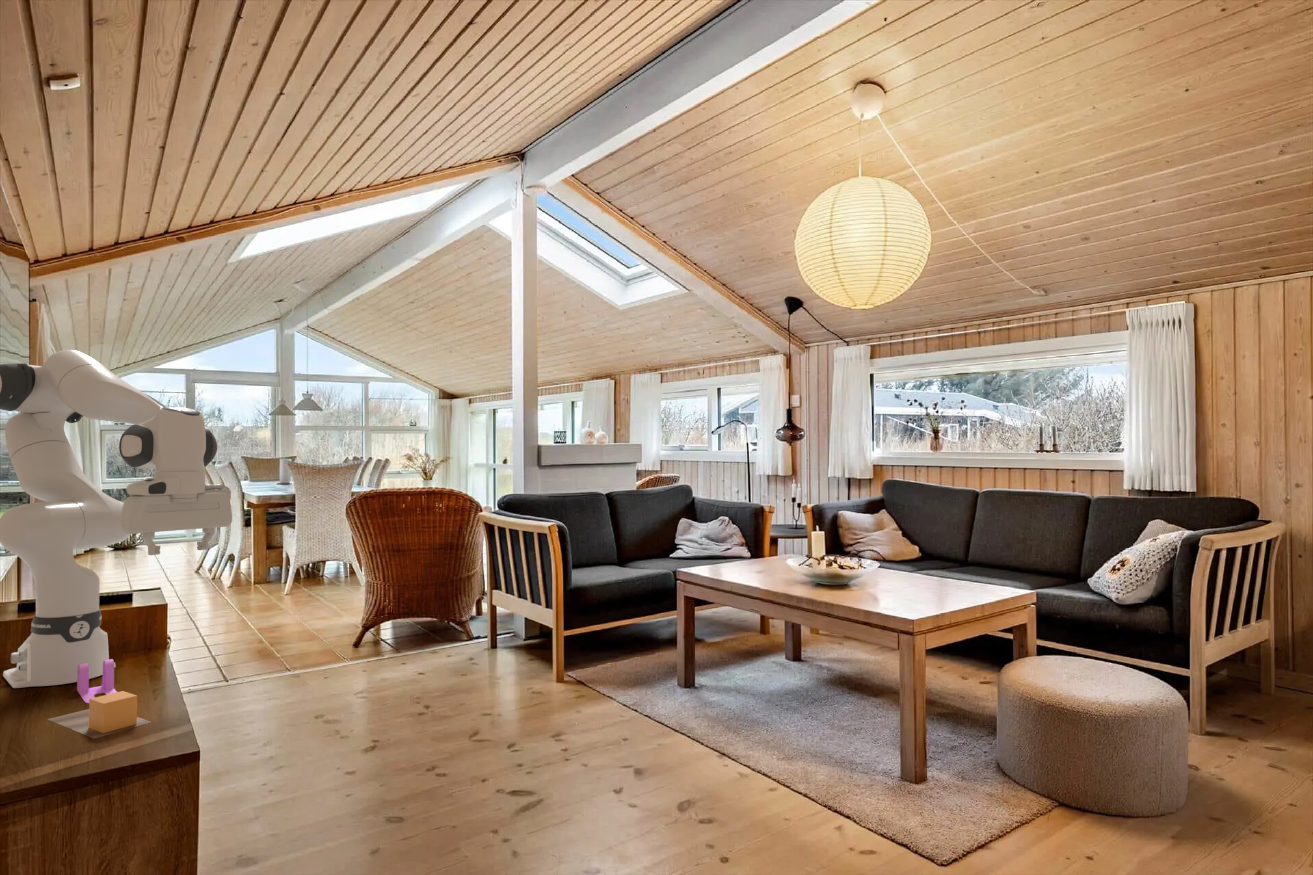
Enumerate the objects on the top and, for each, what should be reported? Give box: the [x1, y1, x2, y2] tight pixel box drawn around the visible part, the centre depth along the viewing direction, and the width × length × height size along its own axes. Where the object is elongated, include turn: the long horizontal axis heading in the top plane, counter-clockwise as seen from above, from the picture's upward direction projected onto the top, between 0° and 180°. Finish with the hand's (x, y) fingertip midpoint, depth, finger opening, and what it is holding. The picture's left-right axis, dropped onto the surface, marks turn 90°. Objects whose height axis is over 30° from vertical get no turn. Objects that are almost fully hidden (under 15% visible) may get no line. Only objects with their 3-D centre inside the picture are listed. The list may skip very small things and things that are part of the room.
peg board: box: [46, 708, 153, 739], centre depth 134 cm, size 18×9×5 cm, turn 59°
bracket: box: [76, 658, 118, 704], centre depth 149 cm, size 13×6×7 cm, turn 45°
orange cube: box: [88, 690, 138, 733], centre depth 132 cm, size 5×5×5 cm
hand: (178, 552), depth 154 cm, fingers open, 8 cm apart
